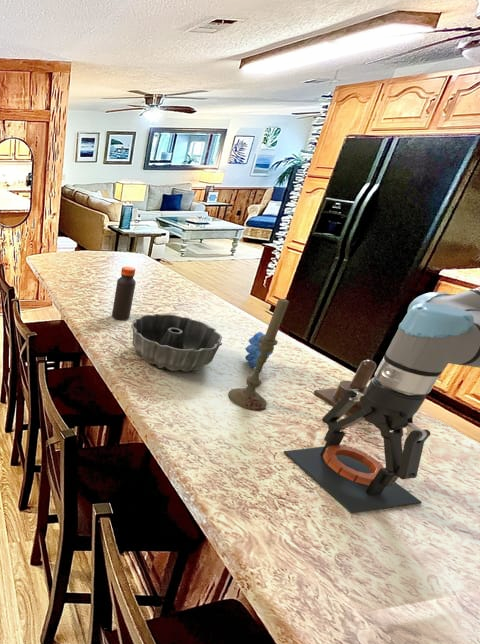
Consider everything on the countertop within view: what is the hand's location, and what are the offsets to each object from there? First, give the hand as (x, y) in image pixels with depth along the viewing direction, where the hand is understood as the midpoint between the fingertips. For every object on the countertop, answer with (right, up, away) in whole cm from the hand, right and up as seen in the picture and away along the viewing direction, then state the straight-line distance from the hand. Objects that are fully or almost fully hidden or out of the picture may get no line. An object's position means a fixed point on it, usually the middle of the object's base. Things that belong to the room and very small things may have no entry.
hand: (348, 473), depth 81 cm
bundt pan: (-19, +21, +44) cm, 52 cm away
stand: (+21, +10, +23) cm, 33 cm away
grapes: (+6, +18, +40) cm, 44 cm away
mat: (0, -1, 0) cm, 1 cm away
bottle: (-26, +35, +72) cm, 84 cm away
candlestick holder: (-6, +11, +24) cm, 27 cm away
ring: (0, +2, -1) cm, 2 cm away
